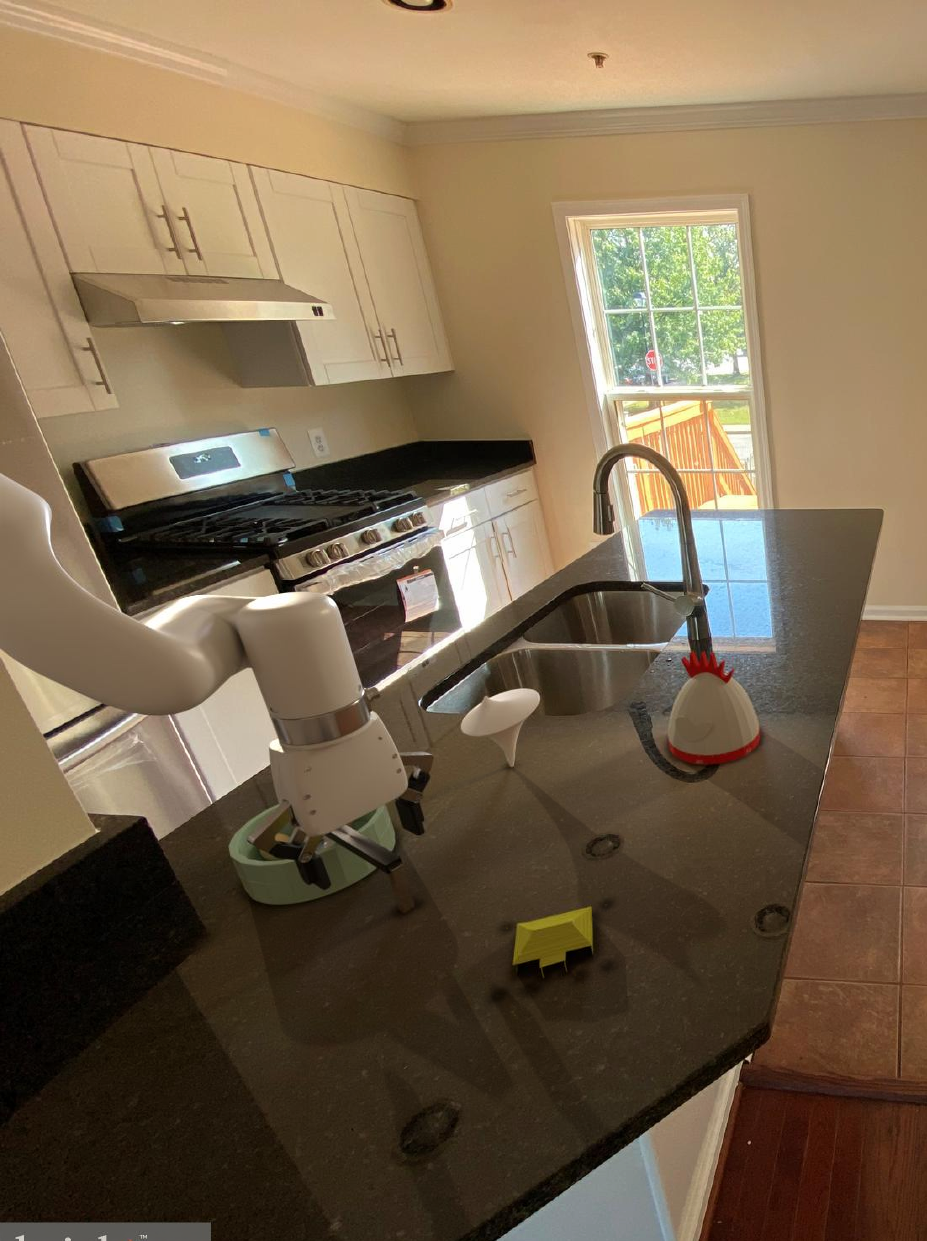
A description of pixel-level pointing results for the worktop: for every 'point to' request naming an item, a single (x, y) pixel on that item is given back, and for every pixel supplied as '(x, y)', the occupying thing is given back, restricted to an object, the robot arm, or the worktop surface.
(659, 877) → the worktop surface
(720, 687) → the kitchen timer
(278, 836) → the orange-brown rounded ball
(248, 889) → the bowl
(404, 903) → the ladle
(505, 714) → the white spinning top
